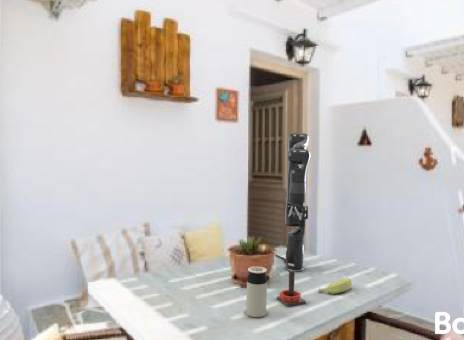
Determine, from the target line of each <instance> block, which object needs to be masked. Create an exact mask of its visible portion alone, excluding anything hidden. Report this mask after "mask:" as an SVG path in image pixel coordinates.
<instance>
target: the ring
mask: <svg viewBox="0 0 464 340" xmlns="http://www.w3.org/2000/svg"><path fill="white" fill-rule="evenodd" d="M288 290H289V289H285V290H281V291H280V292H279V296H278V297H279V298H280V299H282V300H283V301H287V302H296V301H299V300H300V298H301V299H302V293H300V292H299V291H297V290H294V296H292V297H291V296H286V295H288Z"/></svg>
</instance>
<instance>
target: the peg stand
mask: <svg viewBox="0 0 464 340" xmlns="http://www.w3.org/2000/svg"><path fill="white" fill-rule="evenodd" d="M295 274H296V272H294V271H289V270H288V289H287V290H288V295H286V296H291V297H292V296H294V291H295ZM276 300H277V301H278V302H280V303H281V304H282V305H284V306H286V307H287V308H289V307H295V306H300V305H305V304H306V302H307V301H306V300H305V299H303V298H302V297H301V298H300V300H299V301H296V302H287V301H283V300H282V299H280V298H279V296H276Z"/></svg>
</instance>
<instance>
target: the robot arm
mask: <svg viewBox="0 0 464 340" xmlns="http://www.w3.org/2000/svg"><path fill="white" fill-rule="evenodd" d="M287 142H288V143H287V145H288V146H287V147H288V149H287V150H288V152H287V155H286V158H287V162H288V165H287V177H286V179H287V180H286V181H287V182H286V203H285V204H286V205H285V210H284V211H285V213H284V223H285V225H286V227H291V228H292V227H296V228H295V229H293V230H291V231H289V232H288V233H287V234H286V235H287V236H286V251H285V257H283V256H281V255H278V254H276V256H275V257H277V258H279V259H281V260H283V261H284V263H285V269H286V270H287V271H288V272H289V271H294V272H295V273H296V272H297V273H298V272H302V271H304V252H305V251H304V249H305V248H304V247H305V235H306V224H307V223H306V222H307V220H308V219H309V206H308V205H305V204H304V203H305V202H306V196H307V195H306V194H307V185H306V182H307V181H306V180H307V179H306V178H307V170H308V166H309V164H310V160H311V152H310V150H308V149H309V147H310V136H309V134H308V133H306V132H291V133H289V135H288V141H287Z"/></svg>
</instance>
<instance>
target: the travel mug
mask: <svg viewBox="0 0 464 340" xmlns="http://www.w3.org/2000/svg"><path fill="white" fill-rule="evenodd" d="M247 271H248V274H247V276H246V302H245V303H246V304H245V305H246V307H245V308H246V309H245V313H246V315H247V316H249V317H251V318H263V317H264V316H266V315H267V299H268V298H267V297H268V295H267V294H268V276H267V271H268V269H267V268H265V267H263V266H250V267H248V268H247Z"/></svg>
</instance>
